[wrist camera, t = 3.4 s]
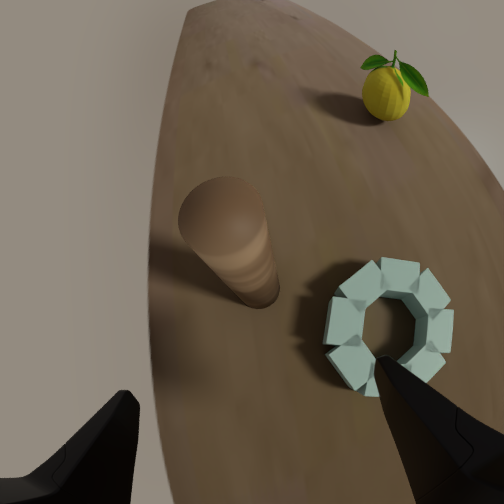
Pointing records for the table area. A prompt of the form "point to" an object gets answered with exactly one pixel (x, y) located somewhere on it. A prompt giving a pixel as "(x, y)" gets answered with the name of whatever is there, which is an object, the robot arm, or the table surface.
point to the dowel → (232, 237)
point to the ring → (398, 287)
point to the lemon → (390, 87)
